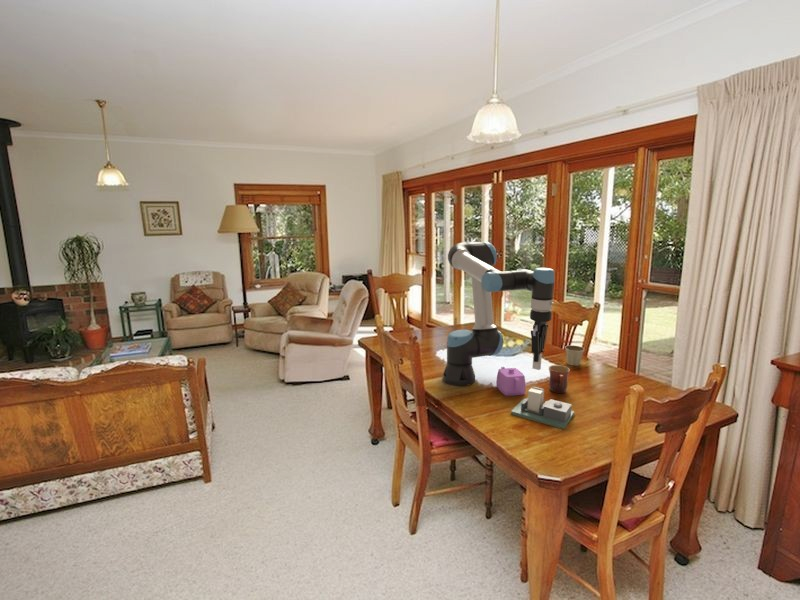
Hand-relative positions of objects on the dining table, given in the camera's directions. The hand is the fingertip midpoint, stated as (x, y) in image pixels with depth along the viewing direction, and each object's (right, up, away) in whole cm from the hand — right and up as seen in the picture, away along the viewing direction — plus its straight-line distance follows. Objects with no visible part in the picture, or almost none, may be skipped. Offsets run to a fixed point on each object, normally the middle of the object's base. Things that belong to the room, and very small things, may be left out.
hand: (536, 368), depth 159 cm
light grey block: (0, -16, +3) cm, 17 cm away
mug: (+17, -14, +21) cm, 30 cm away
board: (+3, -18, +1) cm, 18 cm away
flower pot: (+37, -7, +55) cm, 67 cm away
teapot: (-4, -14, +24) cm, 28 cm away
